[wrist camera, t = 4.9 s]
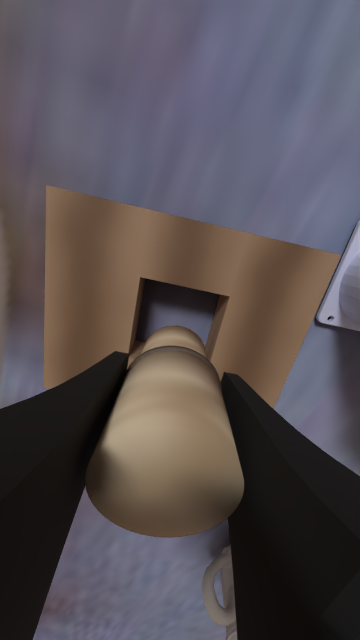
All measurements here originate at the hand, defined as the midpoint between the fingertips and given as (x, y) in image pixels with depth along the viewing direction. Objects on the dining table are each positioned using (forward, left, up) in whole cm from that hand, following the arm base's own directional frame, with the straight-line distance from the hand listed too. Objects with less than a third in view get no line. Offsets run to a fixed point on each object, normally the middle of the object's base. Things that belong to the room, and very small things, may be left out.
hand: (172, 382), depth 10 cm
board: (0, 0, -9) cm, 9 cm away
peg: (0, 0, -3) cm, 3 cm away
